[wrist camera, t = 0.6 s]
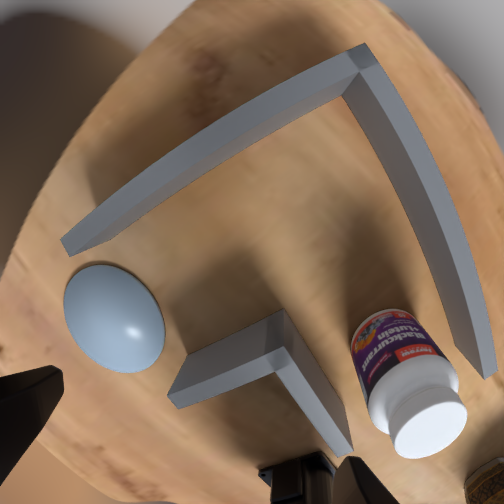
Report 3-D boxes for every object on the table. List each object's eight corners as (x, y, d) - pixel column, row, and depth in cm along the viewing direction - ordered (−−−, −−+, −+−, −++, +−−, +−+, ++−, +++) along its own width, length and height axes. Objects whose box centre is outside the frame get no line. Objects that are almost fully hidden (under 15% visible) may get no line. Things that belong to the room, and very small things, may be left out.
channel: (467, 337, 21) (497, 370, 16) (257, 440, 24) (251, 484, 19) (346, 71, 17) (364, 42, 12) (101, 225, 21) (59, 239, 16)
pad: (188, 347, 23) (187, 349, 22) (109, 383, 24) (108, 385, 24) (119, 242, 21) (116, 243, 21) (49, 296, 23) (47, 297, 23)
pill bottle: (402, 291, 20) (470, 368, 11) (428, 346, 21) (485, 429, 12) (335, 333, 21) (363, 431, 12) (367, 383, 22) (398, 480, 13)
